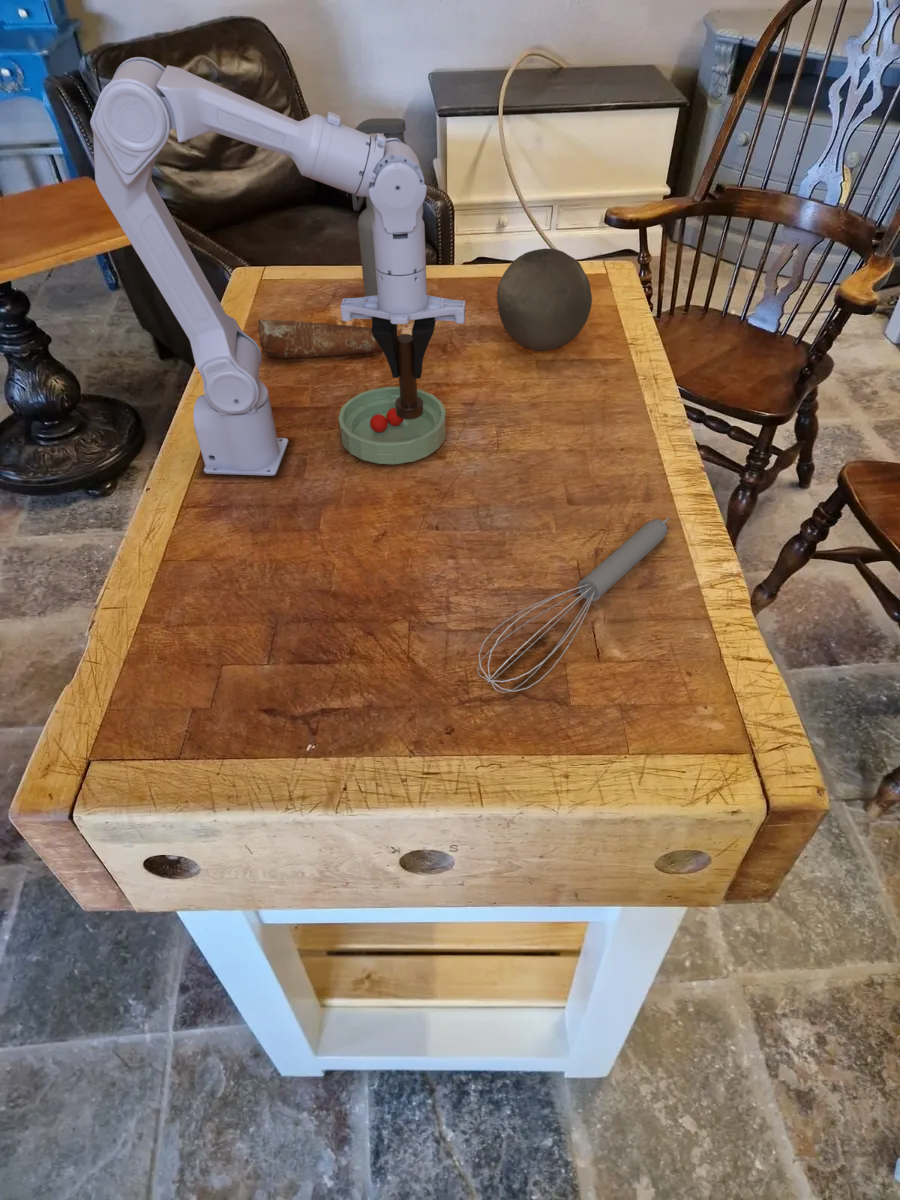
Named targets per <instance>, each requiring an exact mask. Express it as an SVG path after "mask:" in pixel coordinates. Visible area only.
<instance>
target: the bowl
mask: <svg viewBox="0 0 900 1200" xmlns="http://www.w3.org/2000/svg"><path fill="white" fill-rule="evenodd" d="M417 396H418V397H420V398H421V399H422V400H423V414H422V415H421V416H420V417H418V418H416V419H404V420H403V422H402V423H401V424H400V425H398V426H392V425H390V424H389V423H388V426H387V428H386V430H385V431H383V432H375V431H373V430H372V428H371V426H370V420H371V418H372V417H373V416H374V415H377V414H380V415H383V416H385V417H386V415H387V412H388V411H389V410H390V409H392V408H395V401H396V400H397V399H398V398H399V397H400V388H399V386H384V387H377V388H373V389H369V390H366V391H363V392H360V393H358V394H357V395H355V396H354V397H351V398H349V400H347V401H346V402H345V404H344V405H343V406H341V408H340V410H339V412H338V413H339V414H338V417H337V421H338V426H339V428H338V429H339V436H340V439H341V444H342V446H343V447H344V449H345V450H346V451H347V452H348V453H349V454H350V455H352V456H354V457H355V458H358V459H360V460H362V461H365V462H369V463H373V464H377V465H400V464H407V463H413V462H416V461H419V460H421V459H423V458H426V457H428V456H430V455H431V454H433V453H434V452H436V451H437V450H438V449H439V448H440V447H441V445H442V444H443V443H444V442H445V441H446V437H447V411H446V408H445V406H444V404H443V402H442V401H441V400H440V399H439V398H437V397H436V396H435V395H434V394H431V393H430V392H428V391H425V390H422V389H418V388H417Z"/></svg>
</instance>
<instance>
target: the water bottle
mask: <svg viewBox="0 0 900 1200" xmlns="http://www.w3.org/2000/svg"><path fill="white" fill-rule="evenodd" d="M406 128H407V127H406V120H405V119H403V118H398V117H396V118H395V117H391V118H390V117H389V118H387V117H386V118H381V117H379V118H378V117H377V118H376V117H375V118H368V119H366V120H363V121H362V122H359V124H358V125H356V127H355V128H354V129H355V130H358V131H360V132H363V133H365V134H368V135H374V134H375V135H376V134H377V133H379V134H383V136H385V137H386V139H387V138H398V139H399V140H400V141H401V142H402V143H404V144H406V145H408V144H407V143H406V141H405V133H404V132H406ZM351 199H352V200H351V201H352V208H353V211H354V212H360V210H361V208H362V205H363V203H364V200H365V202H366V208H365V209H363V210H362V211H361V212H360V214H359V216H358V220H357V227H358V228H357V229H358V238H359V240H358V241H359V249H360V258H361V261H360V262H361V271H362V272H361V273H362V281H363V282H362V283H363V291H364V297H367V296H374V295H378V292H377V280H376V268H375V255H374V243H373V231H372V223H373V221H374V212H373V203H372V201H371V199H370V197H359V196H356V195H354V194H351Z"/></svg>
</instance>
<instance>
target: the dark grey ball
mask: <svg viewBox="0 0 900 1200" xmlns="http://www.w3.org/2000/svg"><path fill="white" fill-rule="evenodd" d="M501 276H502V277H501V278H500V280H499V282H498V286H497V290H496V303H497V309H498V310H497V311H498V315H499V318H500V322H501V324H502V326H503V328H504V330H505V332H506V334H507V335H508V336H509V337H510V338H511V339H512V341H514V343H516V344H517V345H519V346H521V348H524V349H527V350H528V349H529V350H531V351H533V352H538V353H543V352H548V351H554V350H557V349H560V348H562V347H564V346H566V345H568V344H569V343H571V342H573V340H574V339H576V338H577V337H578V335H579V334H580V333H581V331H582V330H583V328H584V327H585V325H586V323H587V321H588V319H589V316H590V313H591V310H592V305H593V295H592V291H591V283H590V281H589V278H588V276H587V274H586V272H585V270H584V269H583V266H582V265H581V263H580V262H579V261H578V260H577V259H575V257H573V256H571V255H569V254H567V253H566V252H565V251H563V250H560V249H556V248H538V249H533V250H530V251H527V252H525V253H522V254H521V255H519V256H518V257H516V258H515V259H514V260H513V261H512V263H510V265H509V266H508V267H507V268H506V269H505V271H504V272H503V274H502V275H501Z"/></svg>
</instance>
